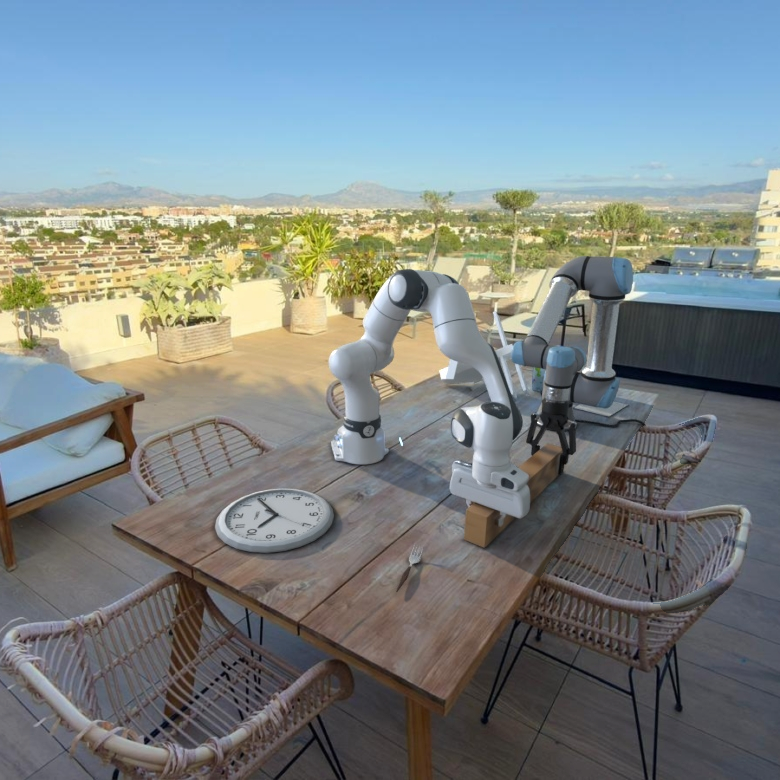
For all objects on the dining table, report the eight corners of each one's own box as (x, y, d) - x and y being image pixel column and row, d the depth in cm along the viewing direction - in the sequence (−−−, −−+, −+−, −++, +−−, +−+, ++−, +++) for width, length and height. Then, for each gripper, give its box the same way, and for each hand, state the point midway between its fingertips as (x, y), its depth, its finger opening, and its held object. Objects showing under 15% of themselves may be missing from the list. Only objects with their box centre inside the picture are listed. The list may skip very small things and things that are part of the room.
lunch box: (548, 398, 236) (553, 353, 229) (527, 393, 243) (531, 349, 237) (575, 387, 253) (581, 344, 247) (555, 382, 260) (560, 341, 254)
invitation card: (608, 416, 214) (573, 407, 224) (608, 416, 214) (573, 408, 224) (628, 404, 229) (594, 396, 238) (628, 405, 229) (594, 397, 238)
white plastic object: (461, 429, 252) (437, 405, 227) (444, 352, 274) (420, 323, 250) (535, 404, 240) (518, 377, 215) (510, 326, 262) (492, 293, 237)
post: (544, 467, 168) (547, 443, 166) (561, 472, 165) (564, 447, 162) (463, 539, 128) (465, 509, 126) (484, 548, 125) (486, 517, 122)
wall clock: (332, 544, 122) (200, 548, 120) (332, 550, 123) (201, 555, 120) (334, 484, 151) (228, 486, 148) (334, 489, 151) (228, 491, 149)
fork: (390, 592, 109) (390, 584, 108) (413, 550, 123) (413, 543, 123) (402, 595, 108) (402, 587, 107) (424, 552, 122) (424, 545, 122)
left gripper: (446, 462, 129) (443, 511, 133) (524, 487, 117) (518, 540, 122) (459, 453, 134) (455, 501, 138) (535, 477, 122) (529, 528, 126)
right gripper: (518, 395, 158) (512, 464, 165) (586, 409, 146) (576, 483, 153) (528, 389, 164) (521, 456, 170) (594, 403, 152) (584, 474, 159)
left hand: (486, 520), depth 130 cm, fingers closed on post, 6 cm apart
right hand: (547, 469), depth 162 cm, fingers open, 7 cm apart
